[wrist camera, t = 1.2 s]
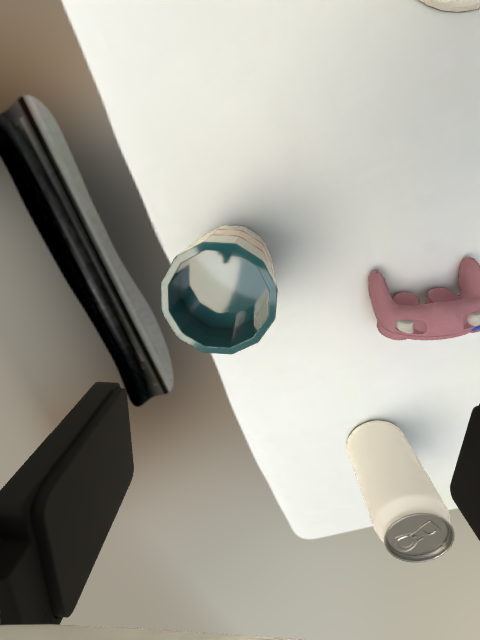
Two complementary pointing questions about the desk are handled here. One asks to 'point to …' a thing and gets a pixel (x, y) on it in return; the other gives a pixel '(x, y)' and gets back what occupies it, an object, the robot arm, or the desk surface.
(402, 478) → the can
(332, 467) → the desk surface
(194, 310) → the top bowl
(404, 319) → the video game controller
